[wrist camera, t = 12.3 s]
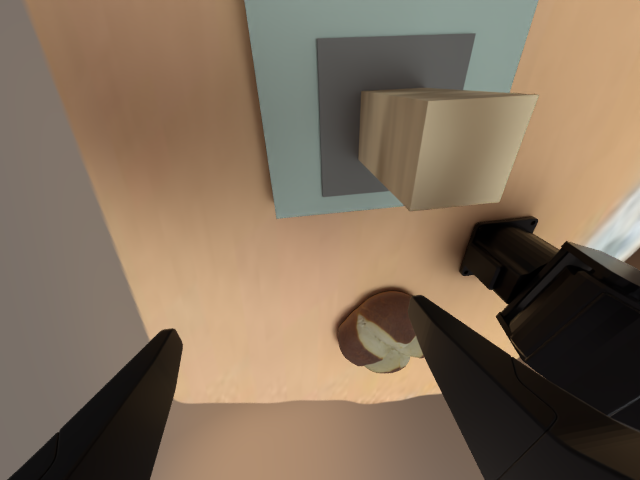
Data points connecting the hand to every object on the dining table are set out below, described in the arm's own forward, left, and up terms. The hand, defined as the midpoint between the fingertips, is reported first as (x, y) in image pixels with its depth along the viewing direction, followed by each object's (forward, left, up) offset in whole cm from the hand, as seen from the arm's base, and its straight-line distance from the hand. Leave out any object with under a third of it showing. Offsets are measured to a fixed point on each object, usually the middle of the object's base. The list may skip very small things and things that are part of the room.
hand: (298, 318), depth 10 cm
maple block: (-7, -5, -10) cm, 13 cm away
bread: (-10, +18, -14) cm, 25 cm away
